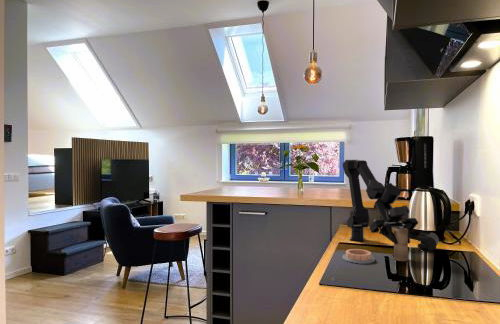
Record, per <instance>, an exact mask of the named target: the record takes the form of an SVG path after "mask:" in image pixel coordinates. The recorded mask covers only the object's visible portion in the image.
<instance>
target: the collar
mask: <svg viewBox="0 0 500 324" xmlns="http://www.w3.org/2000/svg"><path fill="white" fill-rule="evenodd" d="M343 259H344V260H343ZM342 260H343V261H345V262H347V261H348V262H347V263H350V262H353V263H352V264H356V263H358V264H357V265H368V264H373V263H374V262H375V257H374V256H373V255H372V252H371V251H370V250H366V249H361V248H349V249H346V250H345V254H343V255H342Z"/></svg>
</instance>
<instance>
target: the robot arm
mask: <svg viewBox="0 0 500 324" xmlns="http://www.w3.org/2000/svg"><path fill="white" fill-rule="evenodd" d="M342 168H343V172H344V175H346V177H347V178H348V185H349V192H350V198H351V204H352V205H351V206H352V207H351V210H350V212H349V218H348V219H347V220H346V226H347V227H348V228H351V230H350V231H351V232H350V233H351V235H350V238H349V240H350V241H355V242H365V239H366V237H365V236H364V235H365V233H364V231H365V230H364V229H365V228H369V230H370V233H372V234H373V233H374V234H375V233H379V235H382V236H383V237H385V238H387V239H388V240H389V241H391V242H392V243H393V244H394V243H395V244H398V242H397V239H396V237H395V235H394V230H393V228H407V229H408V245H410V244H411V238H410V231H413V230H414V229H415V228H416V227H417V225H418V224H419V221H418V220H417V218H416V217H407V218H405V219H404V221H402V219H403V217H404V216H407V214H409V213H410V209H409V207H408V206H407V205H402V206H395V207H393V206H392V204H394V203H395V202H396V201H397V200H398V198H399V196H401V193H402V191H401V189H400V188H399V187H398V186H396V185H394V184H393V183H392V182H387V183H386V184H385V186H384V184H383V183H381V182H380V181H378V180H377V179H376V177H375V175H374V174H373V172H372V170H371V169H370V167H369V165H368V162H367V161H366V160H365V159H364V160H363V159H361V160H360V159H345V160H344V162H343V163H342ZM359 176H360V177H361V179H362V180H363V182H364V184H365V187H366V190H365V192H366V194H367V197H368V198H369V200H376V201H375V202H374V204H373V209H377V211H378V213H379V215H380V216H379V219H373V221H372V223H371V224H370V226H369V222H370V215H369V209H368V208H366V207H365V206H364V204H363V197H362V189H361V183H360V177H359Z"/></svg>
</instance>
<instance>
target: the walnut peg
mask: <svg viewBox="0 0 500 324" xmlns="http://www.w3.org/2000/svg"><path fill="white" fill-rule="evenodd" d="M393 233H394V235H395V237H396V239H397V242H398V244H395V243H393V260H395V261H399V262H408V260H409V250H408V249H409V244H408V229H407V228H399V227H393Z"/></svg>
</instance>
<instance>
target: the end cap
mask: <svg viewBox="0 0 500 324" xmlns="http://www.w3.org/2000/svg"><path fill="white" fill-rule="evenodd" d="M417 241H418V242H420V243H417V251H418V250H422V251H421V252H423V251H429V252H428V253H431V252H432V251H434V250H435V249H436V248H437V245H438V244H439V242H440V238H439V236H438V235H437V234H436V233H434V232H432V231H431V232H430V233H424V232H420V233H419V235H418V236H417Z"/></svg>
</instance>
